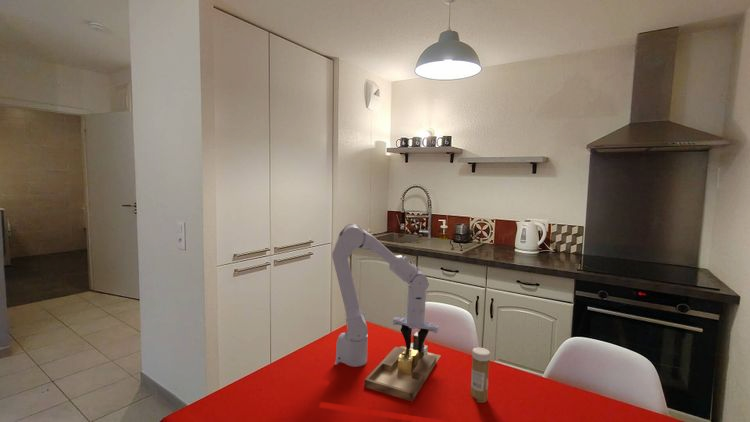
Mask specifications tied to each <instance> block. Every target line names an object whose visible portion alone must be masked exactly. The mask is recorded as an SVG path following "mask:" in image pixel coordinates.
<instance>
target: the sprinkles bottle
mask: <svg viewBox="0 0 750 422" xmlns="http://www.w3.org/2000/svg"><path fill="white" fill-rule="evenodd" d="M471 355H472V356H471V357H472V363H471V364H472V366H471V376H470V377H471V382H470V386H471V387H470V395H471V397H472V398H474V399H476V403H480V404H482V403H483V404H485V403H486V402H487V401H488V389H489V388H488V387H489V368H490V367H489V366H490V360H491V352H490V350H488V349H487V348H483V347H474V348H472V353H471Z"/></svg>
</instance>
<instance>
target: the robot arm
mask: <svg viewBox="0 0 750 422" xmlns="http://www.w3.org/2000/svg"><path fill="white" fill-rule="evenodd" d="M359 247H360V248H361V249H367V250H368V249H370V250H372V252H374V253H375V254H376V255H378V256H379V257H380V258H382V259H383V260H384V261H386V263H387V264H388V267H389V270H390V271H391V272H392V273H394V274H395V276H397V277H398V278H400V279H401V280H402V281H403V282H405V283H407V285H408V289H407V290H408V292H407V304H406V317H398V316H395V317H394V318H393V319H392V325H393V326H397V325H398V326H401V328H400V332H401V335H402V337H403V339H404V342H405V347H406V348H409V349H410V347H411V343H412V331H413V330H414V329H417V330H419V331H417V332H418V340H419V344H418V351H419V352H421V351H422V347H423V343H424V344H425V341H426V338H427V336H428V334H429V332H432V333H434V334H438V333H439V326H440V325H439V324H434V323H432V322H429V321H425V320H426V319H425V317H426V300H427V299H426V298H427V295H426V294H427V293H426V292H427V290H428V288H429V286H430V283H429V279H428V277H427V276H426V275H425V274H424V272H422V271H421V270H420V268H419V267H418V266H415V265H413V264H412V263H411V262H410V261H409V258H408V257H407V256H406V255H404V256H403V255H402V254H398V255H397V254H396V255H395V254H394V253H393V252H392V251H391V250H390V249H388V248H387V247H386V246H385V245H384V244H383V243H382V242H381V241H379V240H378V238H376V237H375V236H374V235H373V234H371V233H369V232H368V231H366V230H365V229H364V228H362V229H361V227H360V226H359V225H358V224H356V223H349V224H347V225H345V226H344V228H342V230H341V231H340V232H339V234H338V236H337V240H336V243H335V245H334V247H333V251H332V253H331V255H332V261H333V262H332V263H333V265H334V266H333V267H334V270H335V273H336V276H337V282H338V286H339V289H340V293H341V297H342V303H343V306H344V309H345V314H346V315H345V316H346V319H345V320H346V321H345V322H346V327H347V328H346V329H347V330H346V331H345V332H341V333H340V334H339V335H338V338H337V340H336V344H335V345H336V346H335V347H336V348H335V349H336V352H335V362H334V365H339V363H342V364H345V365H346V366H348V367H349V366H350V367H354V368H355V367H362V366H364V365H366V364H367V362H368V342H369V341H368V339H369V338H368V336H369V335H368V333H369V330H368V329H369V328H368V325H367V321H366V320H367V319H366V315H365V314H364V312H363V311H361V307H360V303H359V299H358V295H357V291H356V287H355V282H354V278H353V275H352V270H351V267H350V262H349V261H350V260H349V257H350V256H351V255H352V253H353V252H354V251H355V250H357V249H358V248H359Z"/></svg>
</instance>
